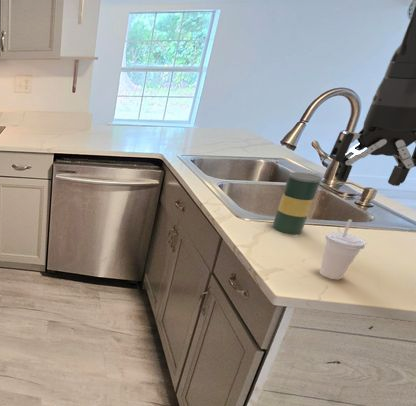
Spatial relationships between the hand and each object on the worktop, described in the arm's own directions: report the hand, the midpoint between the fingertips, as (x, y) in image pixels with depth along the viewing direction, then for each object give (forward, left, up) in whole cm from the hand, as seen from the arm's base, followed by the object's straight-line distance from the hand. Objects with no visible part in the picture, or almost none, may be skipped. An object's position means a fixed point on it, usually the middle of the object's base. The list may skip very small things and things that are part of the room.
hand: (366, 182), depth 75 cm
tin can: (+17, -18, -23) cm, 34 cm away
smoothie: (0, -1, -23) cm, 23 cm away
